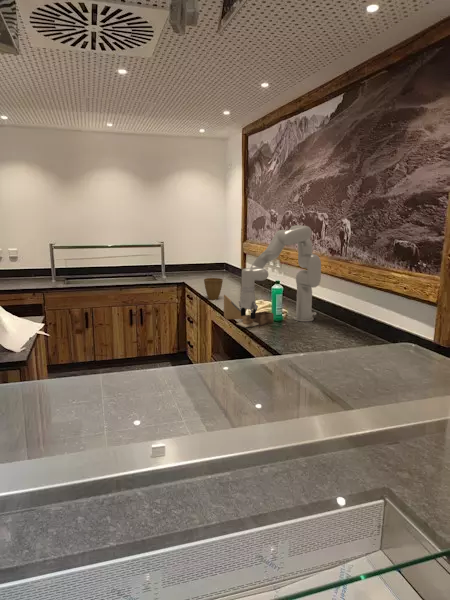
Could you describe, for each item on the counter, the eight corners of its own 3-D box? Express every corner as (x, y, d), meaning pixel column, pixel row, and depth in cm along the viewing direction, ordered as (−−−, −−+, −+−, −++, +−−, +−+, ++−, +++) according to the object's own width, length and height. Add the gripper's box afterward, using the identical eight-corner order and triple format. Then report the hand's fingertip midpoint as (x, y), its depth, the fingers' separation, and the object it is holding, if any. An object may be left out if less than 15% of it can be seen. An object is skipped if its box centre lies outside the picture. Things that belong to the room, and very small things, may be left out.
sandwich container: (249, 318, 271) (249, 295, 268) (225, 319, 269) (226, 296, 266) (246, 315, 280) (246, 293, 277) (223, 316, 277) (223, 294, 274)
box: (264, 320, 266) (265, 311, 265) (273, 323, 260) (273, 313, 258) (252, 322, 261) (252, 313, 259) (260, 325, 254) (260, 315, 253)
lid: (249, 323, 260) (250, 313, 259) (258, 326, 253) (259, 316, 252) (236, 325, 254) (236, 315, 253) (245, 328, 247) (245, 318, 246)
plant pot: (201, 300, 329) (200, 280, 326) (208, 296, 343) (208, 277, 340) (218, 301, 324) (218, 281, 321) (225, 298, 338) (225, 278, 334)
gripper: (234, 287, 254) (234, 315, 257) (252, 292, 240) (252, 321, 243) (244, 286, 258) (244, 313, 262) (262, 290, 244) (262, 319, 248)
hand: (248, 317), depth 252 cm, fingers open, 9 cm apart
